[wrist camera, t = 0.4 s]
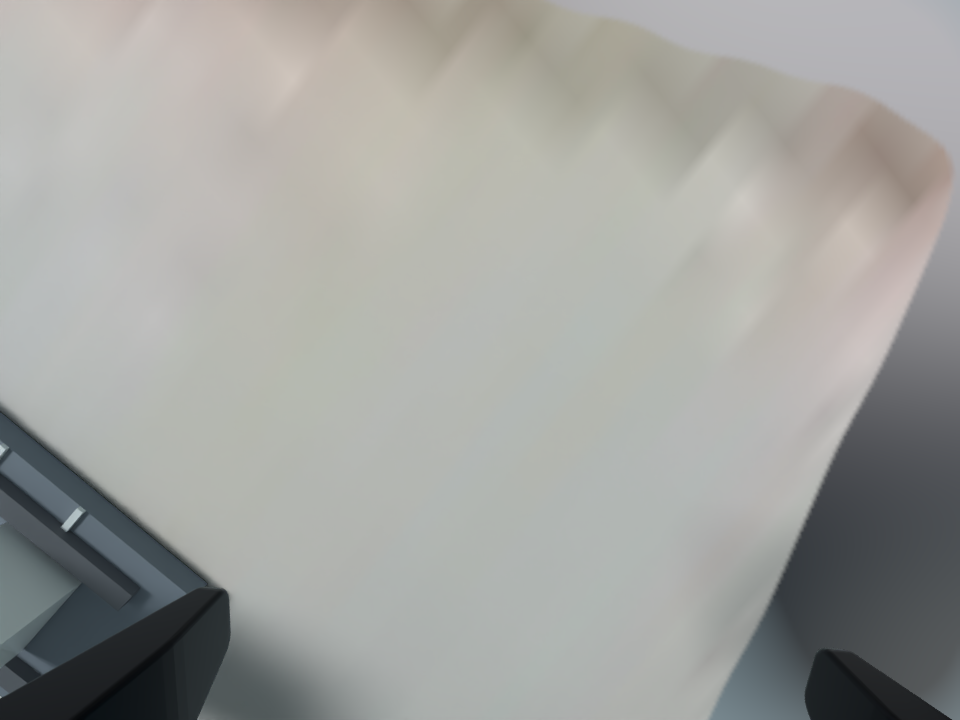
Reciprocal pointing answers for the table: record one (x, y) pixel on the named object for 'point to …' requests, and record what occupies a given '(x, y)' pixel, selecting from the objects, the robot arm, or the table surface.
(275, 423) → the table surface
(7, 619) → the fader cap
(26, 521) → the fader track base
